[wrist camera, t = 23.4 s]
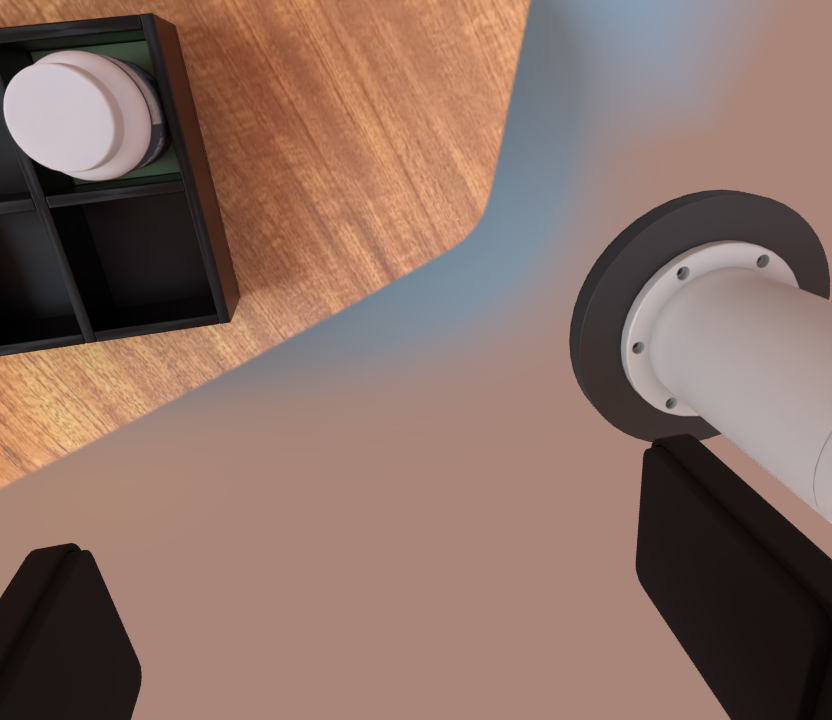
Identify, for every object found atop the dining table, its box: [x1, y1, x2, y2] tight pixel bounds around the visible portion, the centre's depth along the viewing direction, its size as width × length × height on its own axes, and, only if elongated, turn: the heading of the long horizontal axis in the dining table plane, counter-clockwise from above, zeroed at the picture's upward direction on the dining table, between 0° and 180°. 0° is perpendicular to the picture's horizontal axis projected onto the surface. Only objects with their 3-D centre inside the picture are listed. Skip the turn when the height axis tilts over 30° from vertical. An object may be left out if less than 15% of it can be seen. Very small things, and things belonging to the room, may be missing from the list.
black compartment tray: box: [0, 13, 240, 356], centre depth 30 cm, size 15×15×5 cm
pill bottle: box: [4, 51, 172, 181], centre depth 27 cm, size 5×5×9 cm
